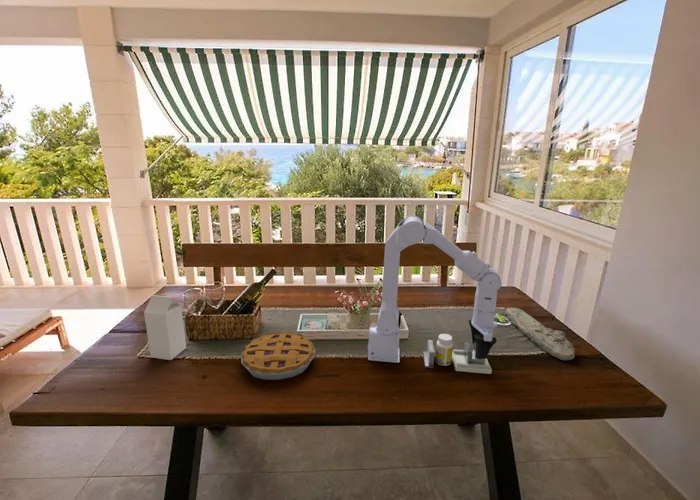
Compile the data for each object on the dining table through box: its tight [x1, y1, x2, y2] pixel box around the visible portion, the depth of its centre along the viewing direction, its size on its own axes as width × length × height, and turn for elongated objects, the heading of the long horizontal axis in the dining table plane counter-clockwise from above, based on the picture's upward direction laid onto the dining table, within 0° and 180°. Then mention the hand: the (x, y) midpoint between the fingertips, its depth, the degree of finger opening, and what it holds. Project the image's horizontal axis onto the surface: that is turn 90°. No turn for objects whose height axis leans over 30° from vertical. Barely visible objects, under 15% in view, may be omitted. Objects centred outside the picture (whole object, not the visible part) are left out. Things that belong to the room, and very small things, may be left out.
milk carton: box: [143, 294, 187, 361], centre depth 107 cm, size 7×7×19 cm
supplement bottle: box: [434, 333, 454, 367], centre depth 106 cm, size 5×5×8 cm
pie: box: [240, 331, 316, 381], centre depth 105 cm, size 22×22×5 cm
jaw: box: [422, 339, 436, 369], centre depth 107 cm, size 2×8×5 cm, turn 173°
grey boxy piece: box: [463, 341, 486, 365], centre depth 105 cm, size 5×6×6 cm
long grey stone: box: [504, 306, 576, 361], centre depth 124 cm, size 35×5×10 cm
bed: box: [452, 348, 493, 375], centre depth 106 cm, size 10×9×2 cm
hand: (479, 350), depth 104 cm, fingers open, 7 cm apart
